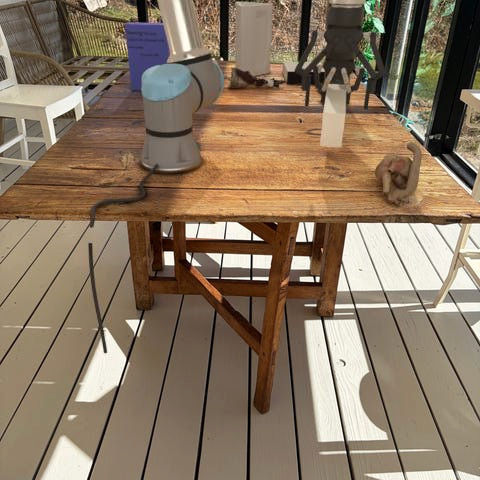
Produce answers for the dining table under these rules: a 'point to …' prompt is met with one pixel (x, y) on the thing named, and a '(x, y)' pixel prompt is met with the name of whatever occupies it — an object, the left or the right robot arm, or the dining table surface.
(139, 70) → the cereal box
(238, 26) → the white tapered box
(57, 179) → the dining table surface
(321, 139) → the bar
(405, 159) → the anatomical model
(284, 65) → the disc drive
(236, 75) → the figurine
